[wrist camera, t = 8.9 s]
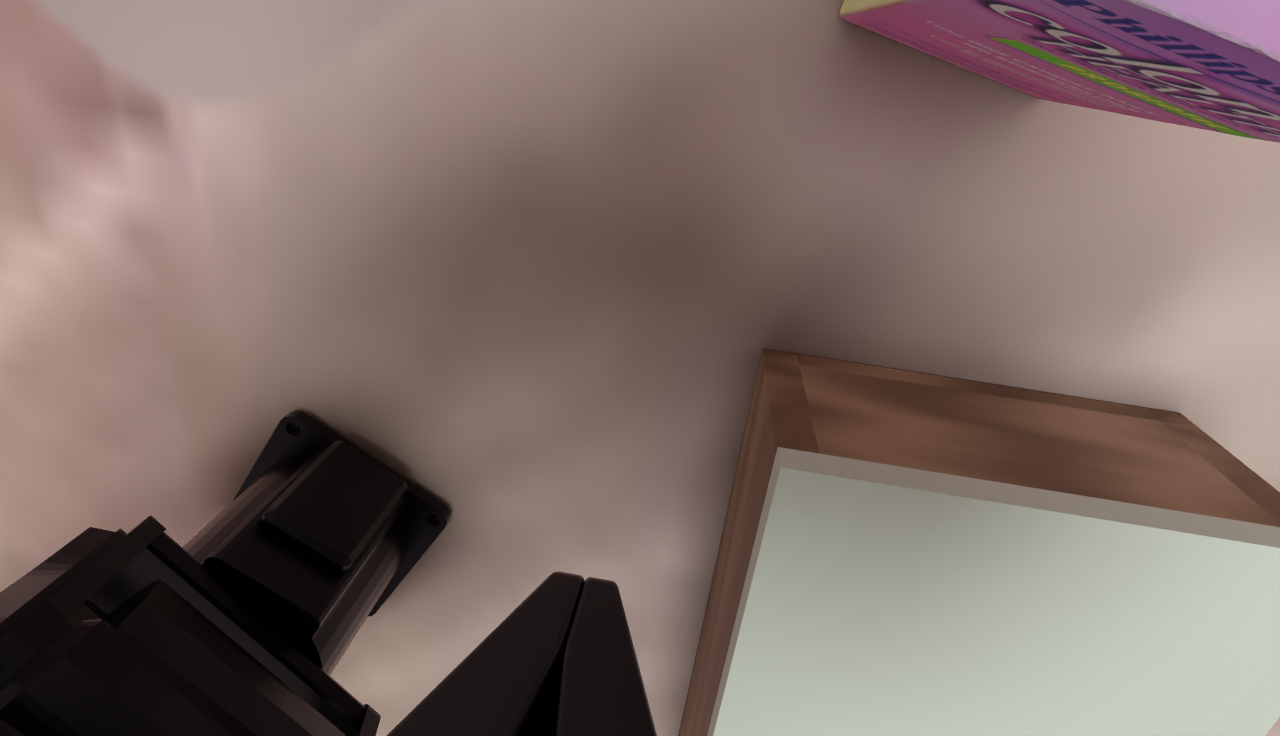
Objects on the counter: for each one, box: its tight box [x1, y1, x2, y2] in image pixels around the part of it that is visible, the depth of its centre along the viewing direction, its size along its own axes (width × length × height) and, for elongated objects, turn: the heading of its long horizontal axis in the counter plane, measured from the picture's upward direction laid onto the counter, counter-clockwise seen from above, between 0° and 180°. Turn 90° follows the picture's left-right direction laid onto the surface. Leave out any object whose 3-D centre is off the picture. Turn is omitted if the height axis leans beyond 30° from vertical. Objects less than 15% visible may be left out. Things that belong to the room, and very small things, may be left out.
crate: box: [679, 349, 1280, 736], centre depth 21 cm, size 12×18×6 cm, turn 173°
